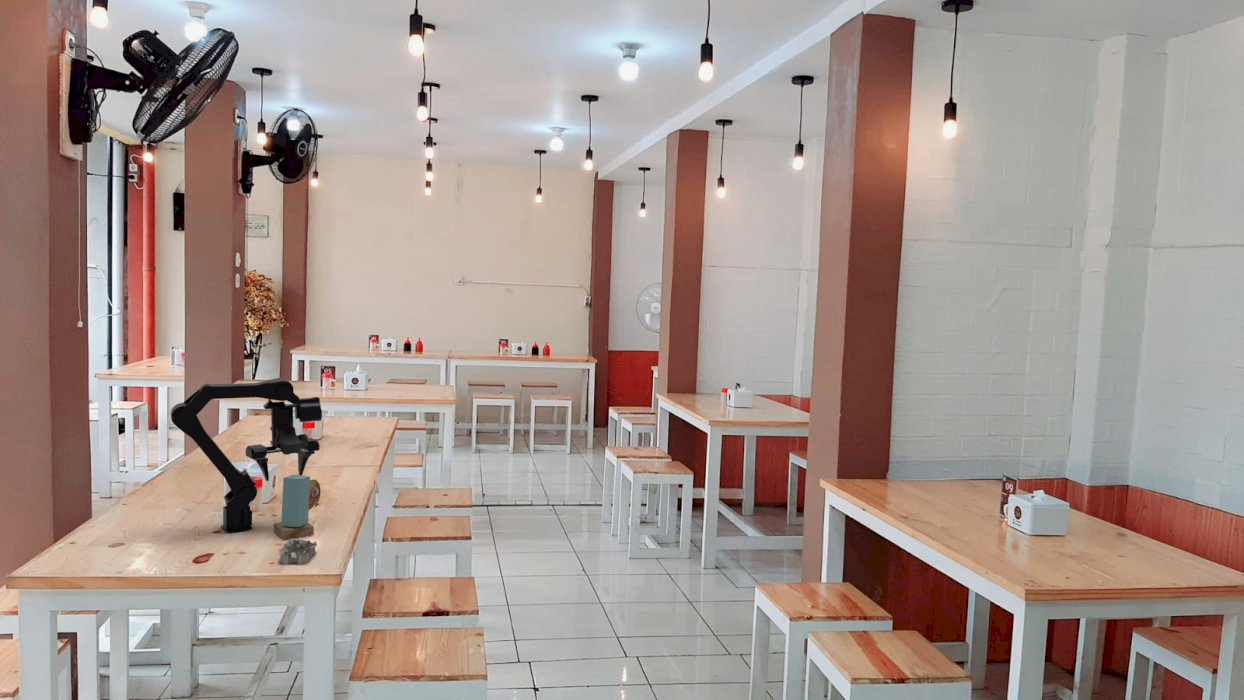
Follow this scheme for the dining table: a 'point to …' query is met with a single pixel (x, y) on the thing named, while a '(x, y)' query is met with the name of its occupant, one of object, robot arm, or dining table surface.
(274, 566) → the dining table surface
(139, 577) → the dining table surface
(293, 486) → the teal block
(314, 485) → the tin
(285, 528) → the walnut plinth
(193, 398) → the robot arm
